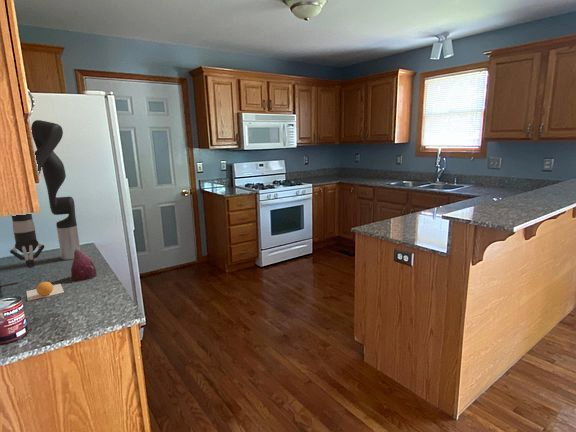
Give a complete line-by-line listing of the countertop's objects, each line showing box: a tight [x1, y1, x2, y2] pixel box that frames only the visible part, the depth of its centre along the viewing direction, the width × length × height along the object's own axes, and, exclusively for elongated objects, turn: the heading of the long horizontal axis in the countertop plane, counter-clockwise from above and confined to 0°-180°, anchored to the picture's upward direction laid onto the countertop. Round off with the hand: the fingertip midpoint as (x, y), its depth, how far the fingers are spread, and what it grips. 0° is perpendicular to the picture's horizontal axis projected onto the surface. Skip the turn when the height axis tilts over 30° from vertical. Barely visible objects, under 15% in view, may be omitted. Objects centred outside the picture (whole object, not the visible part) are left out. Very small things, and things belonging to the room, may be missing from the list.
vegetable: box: [70, 248, 97, 282], centre depth 158 cm, size 10×10×15 cm
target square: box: [26, 283, 65, 302], centre depth 142 cm, size 12×12×1 cm
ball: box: [36, 281, 53, 296], centre depth 139 cm, size 6×6×6 cm
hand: (30, 267), depth 156 cm, fingers closed
